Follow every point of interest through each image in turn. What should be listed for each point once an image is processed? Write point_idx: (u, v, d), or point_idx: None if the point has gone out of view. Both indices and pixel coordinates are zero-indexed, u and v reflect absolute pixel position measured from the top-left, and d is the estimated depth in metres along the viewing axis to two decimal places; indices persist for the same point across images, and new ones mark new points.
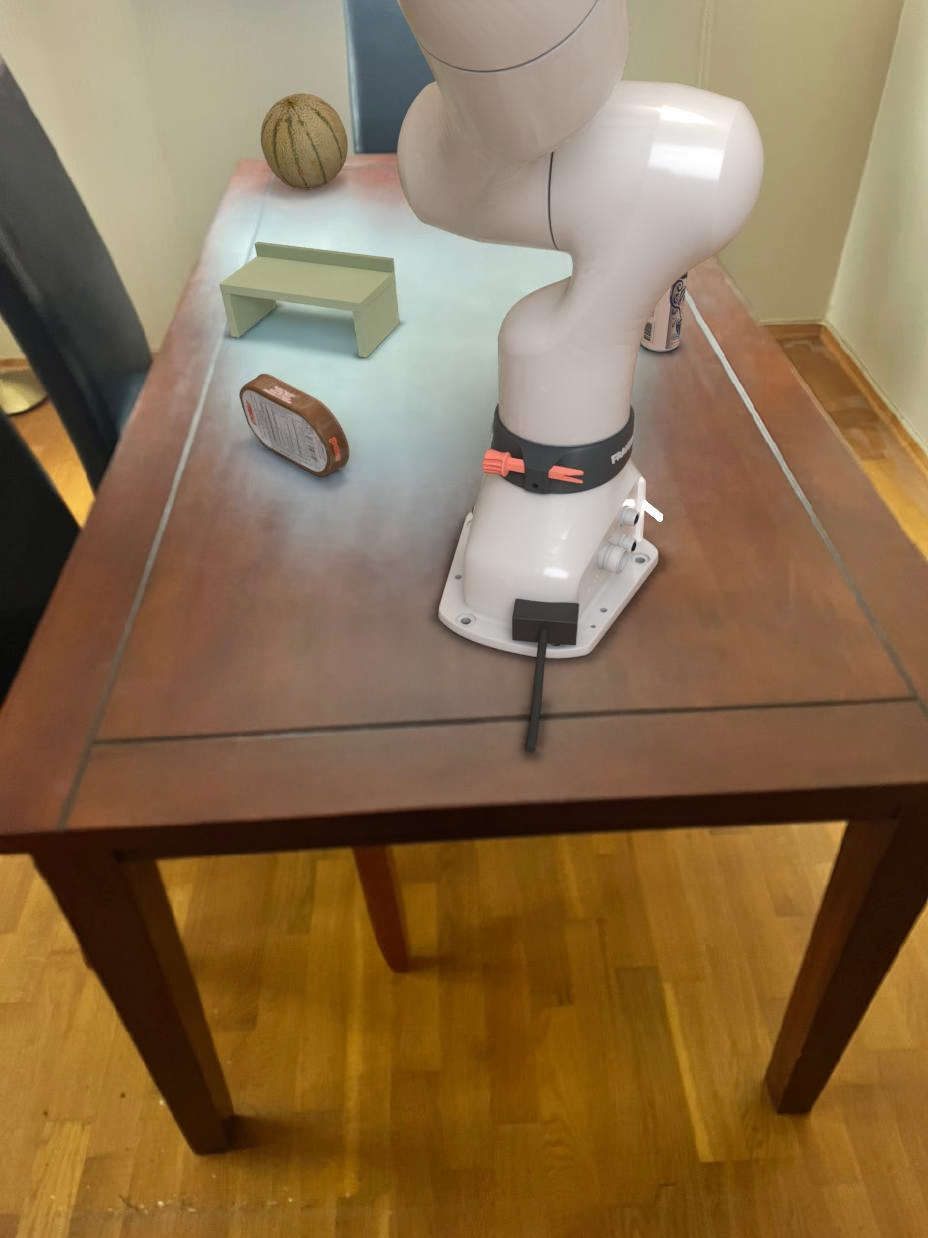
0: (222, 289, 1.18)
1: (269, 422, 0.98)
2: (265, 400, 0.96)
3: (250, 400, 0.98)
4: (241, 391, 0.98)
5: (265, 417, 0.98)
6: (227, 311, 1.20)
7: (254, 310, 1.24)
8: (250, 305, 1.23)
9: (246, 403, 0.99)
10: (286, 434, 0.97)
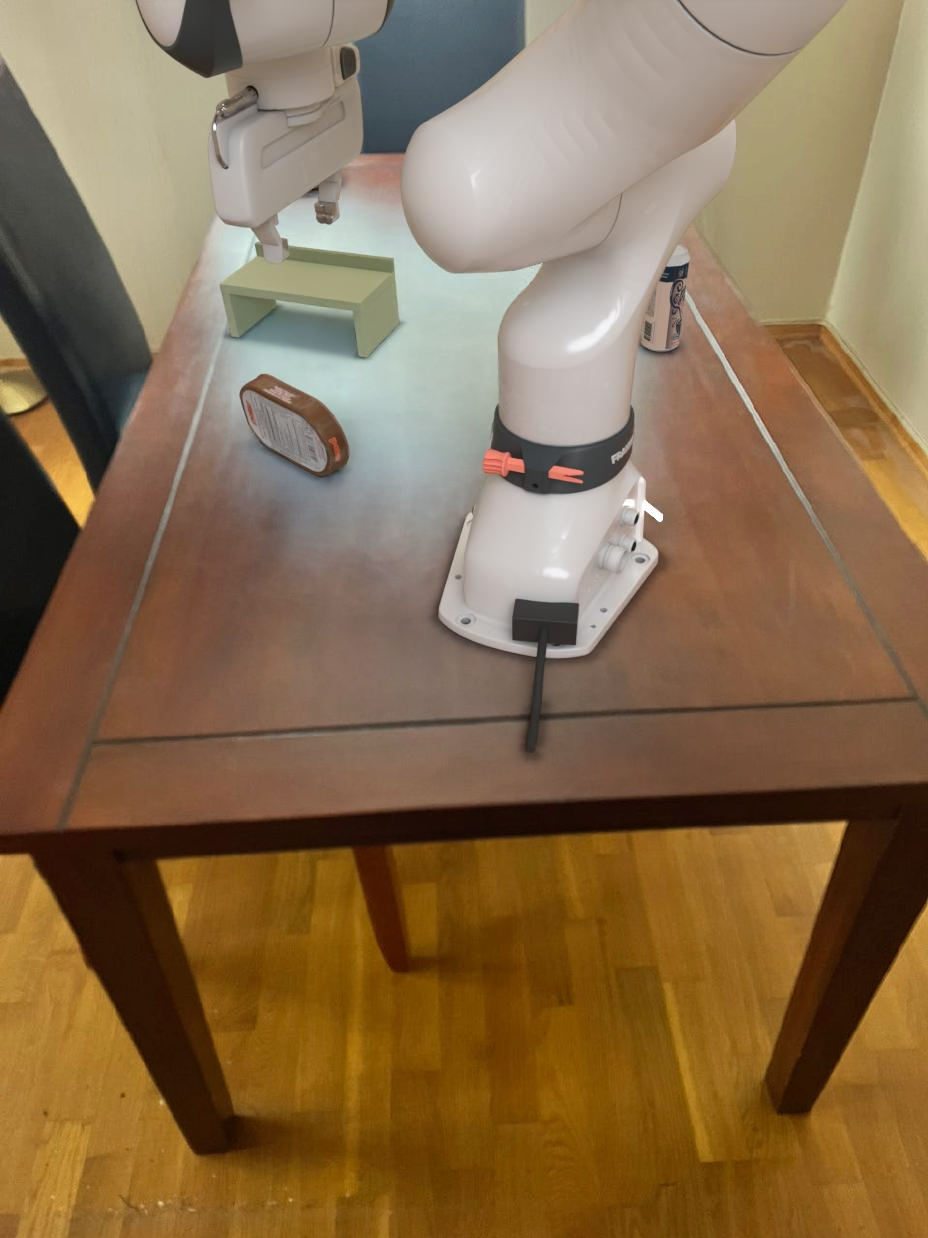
0: (222, 289, 1.18)
1: (269, 422, 0.98)
2: (265, 400, 0.96)
3: (250, 400, 0.98)
4: (241, 391, 0.98)
5: (265, 417, 0.98)
6: (227, 311, 1.20)
7: (254, 310, 1.24)
8: (250, 305, 1.23)
9: (246, 403, 0.99)
10: (286, 434, 0.97)
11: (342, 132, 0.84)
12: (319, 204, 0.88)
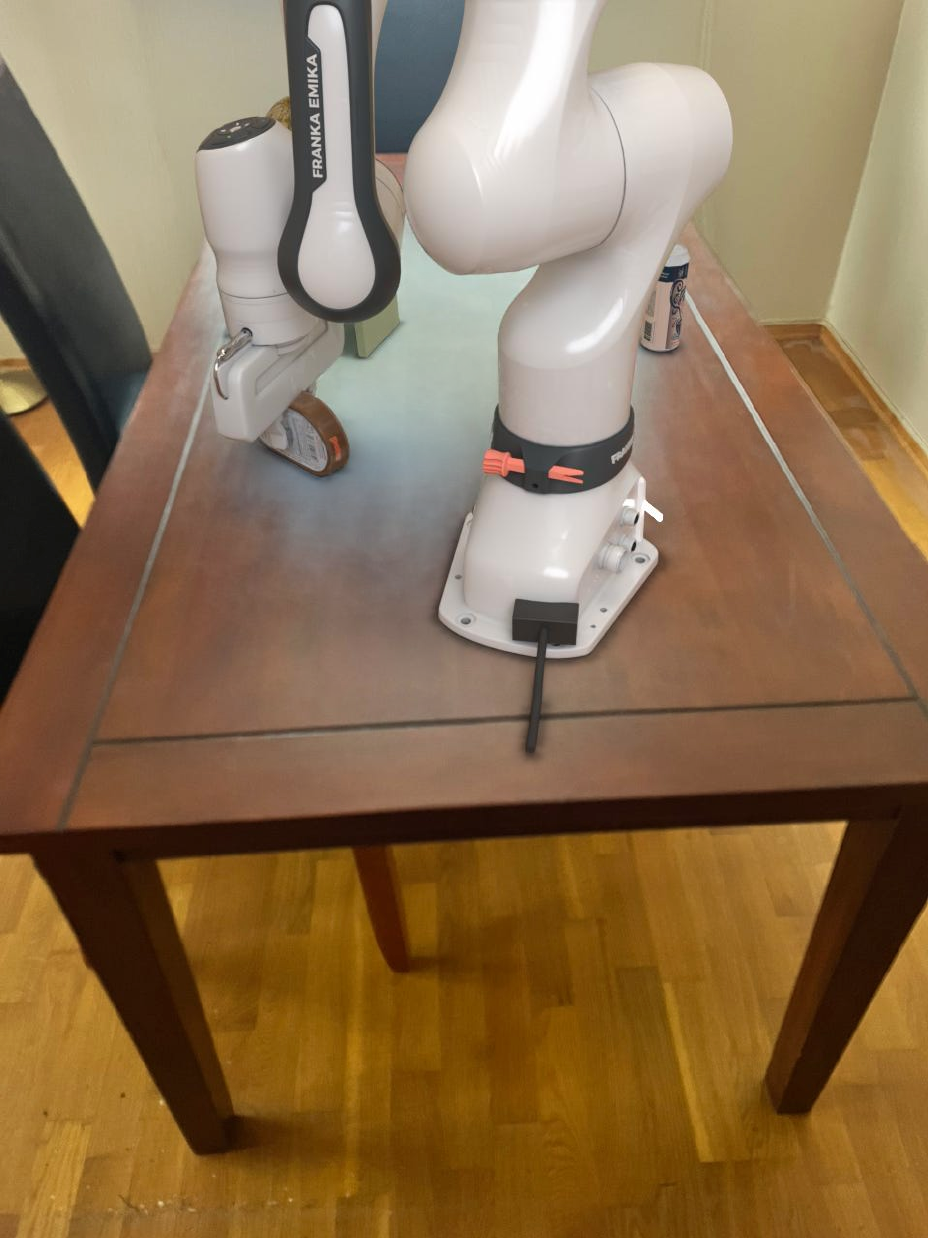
0: None
1: None
2: None
3: None
4: None
5: None
6: None
7: None
8: None
9: None
10: None
11: (326, 342, 0.97)
12: None
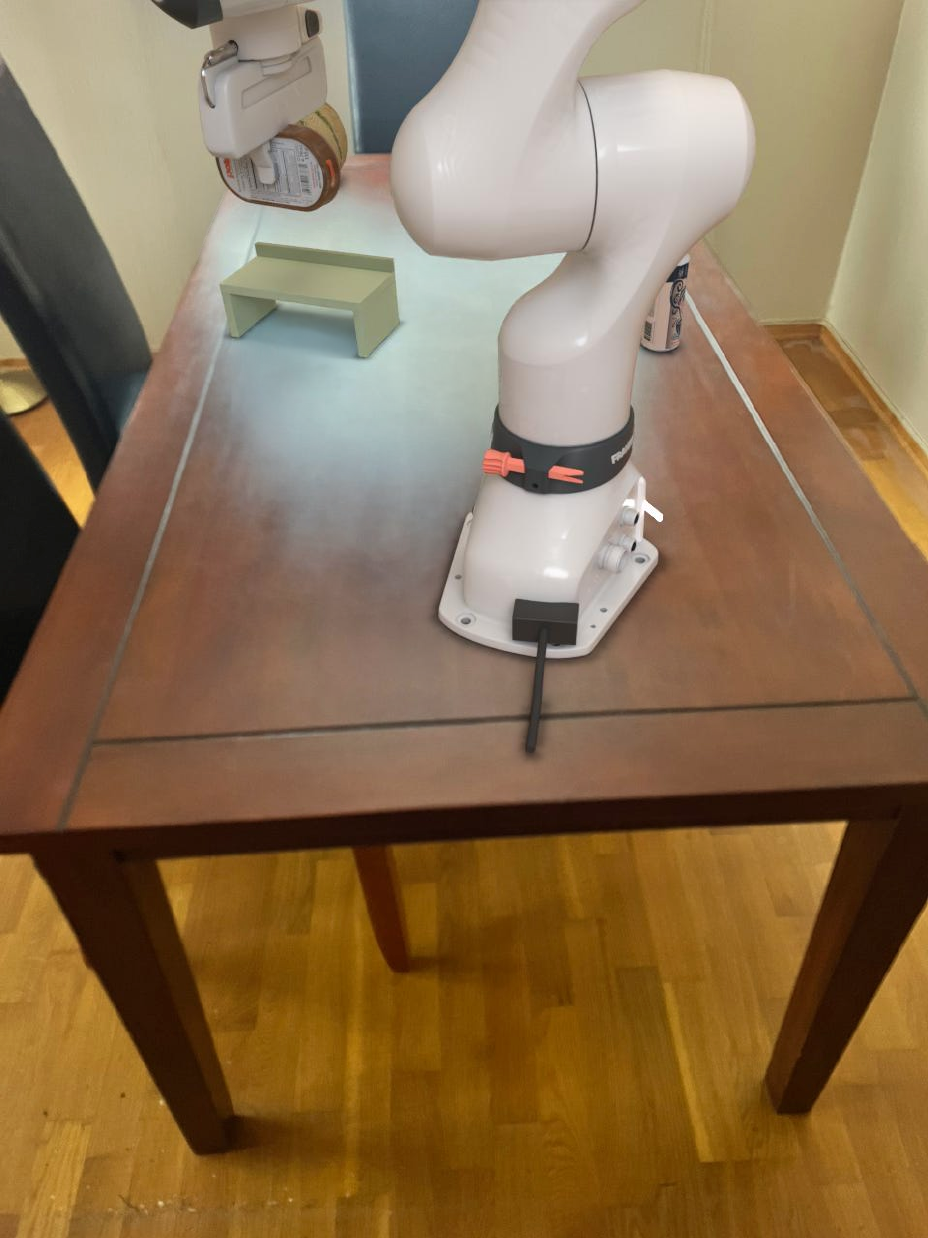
0: (222, 289, 1.18)
1: (251, 167, 1.02)
2: None
3: None
4: None
5: (246, 162, 1.02)
6: (227, 311, 1.20)
7: (254, 310, 1.24)
8: (250, 305, 1.23)
9: None
10: None
11: (309, 83, 1.01)
12: None
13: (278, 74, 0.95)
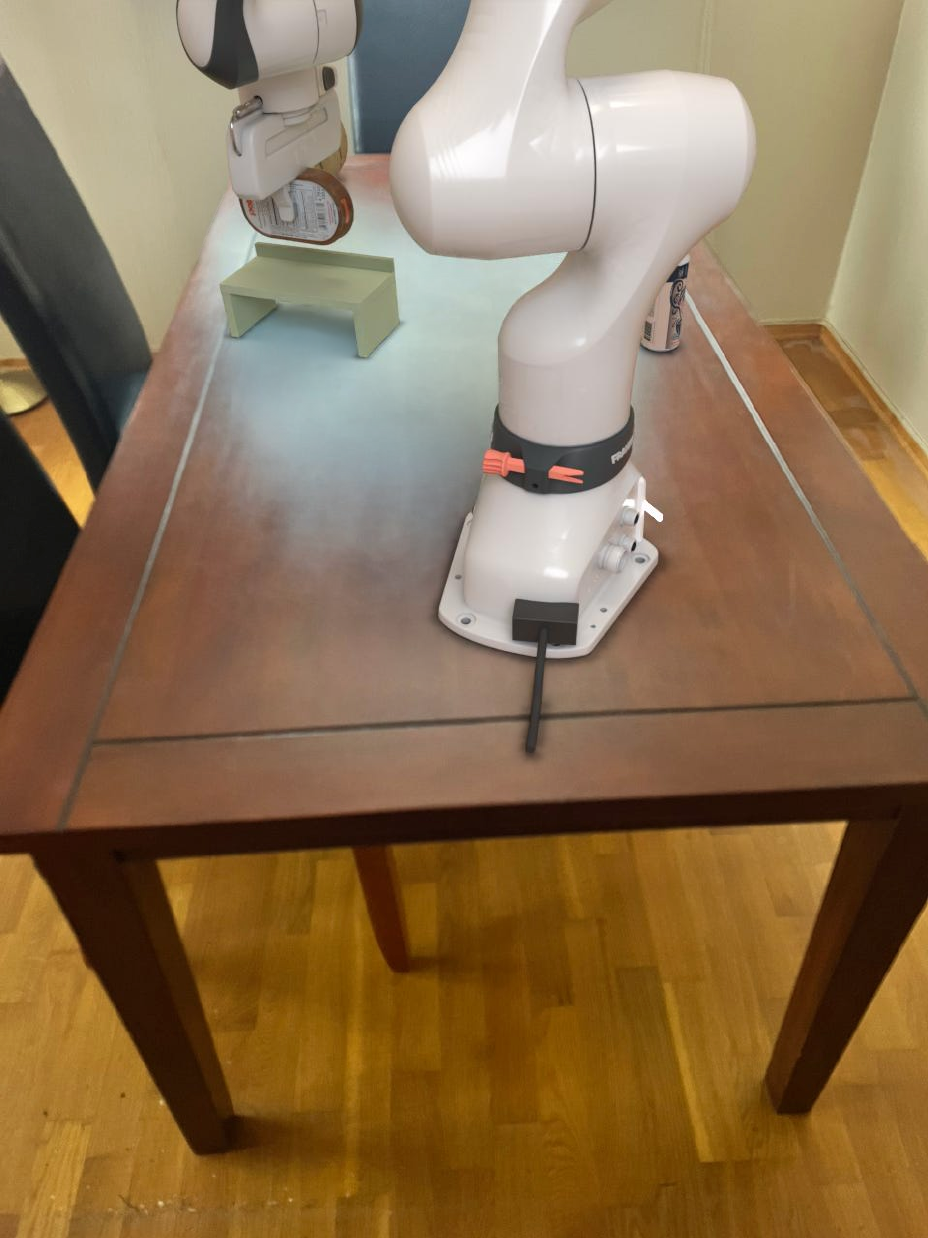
0: (222, 289, 1.18)
1: (271, 206, 1.12)
2: None
3: None
4: None
5: (267, 201, 1.12)
6: (227, 311, 1.20)
7: (254, 310, 1.24)
8: (250, 305, 1.23)
9: None
10: None
11: (325, 130, 1.11)
12: None
13: (298, 124, 1.06)
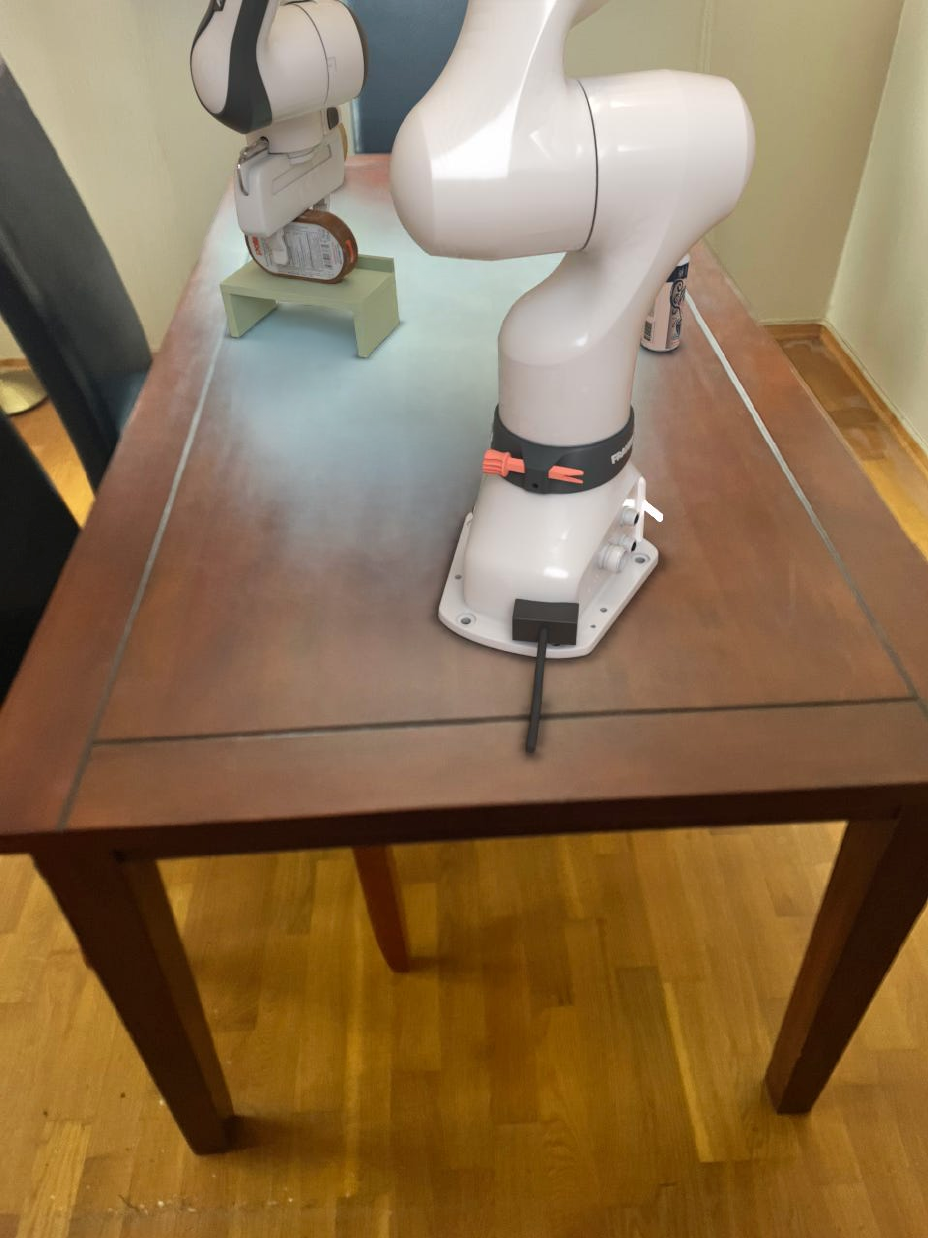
0: (222, 289, 1.18)
1: None
2: None
3: None
4: None
5: None
6: (227, 311, 1.20)
7: (254, 310, 1.24)
8: (250, 305, 1.23)
9: None
10: (297, 251, 1.14)
11: (329, 167, 1.14)
12: None
13: None
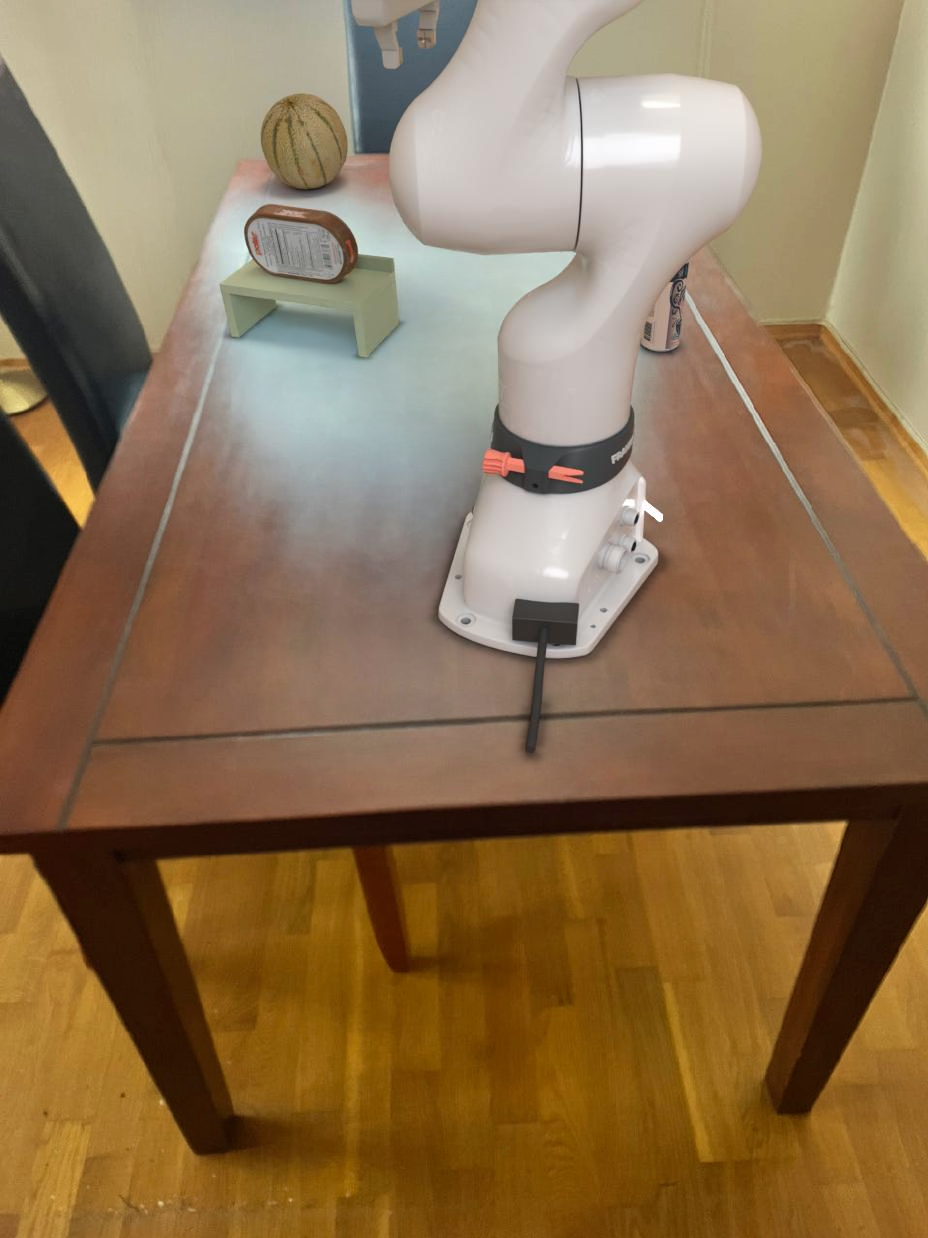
0: (222, 289, 1.18)
1: (277, 246, 1.15)
2: (276, 223, 1.13)
3: (257, 230, 1.15)
4: (248, 223, 1.14)
5: (273, 242, 1.15)
6: (227, 311, 1.20)
7: (254, 310, 1.24)
8: (250, 305, 1.23)
9: (251, 234, 1.15)
10: (297, 251, 1.14)
11: None
12: (420, 30, 1.05)
13: None
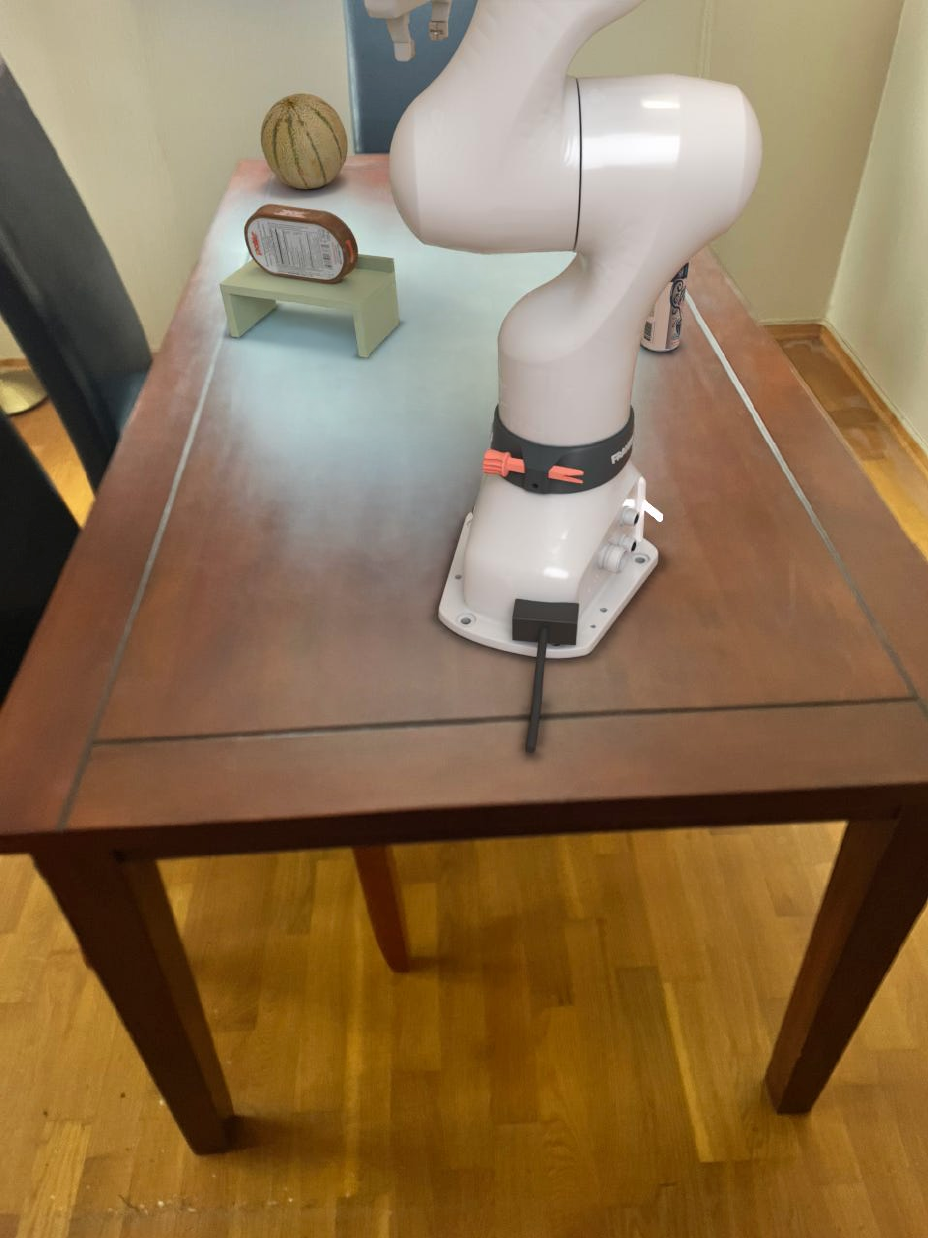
0: (222, 289, 1.18)
1: (277, 246, 1.15)
2: (276, 223, 1.13)
3: (257, 230, 1.15)
4: (248, 223, 1.14)
5: (273, 242, 1.15)
6: (227, 311, 1.20)
7: (254, 310, 1.24)
8: (250, 305, 1.23)
9: (251, 235, 1.15)
10: (297, 251, 1.14)
11: None
12: (432, 22, 1.05)
13: None
